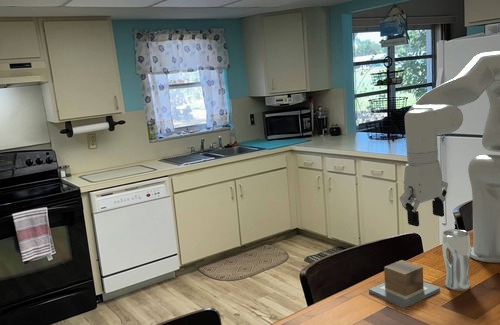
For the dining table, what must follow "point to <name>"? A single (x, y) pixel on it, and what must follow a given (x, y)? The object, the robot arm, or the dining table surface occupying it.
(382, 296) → the board
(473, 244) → the robot arm
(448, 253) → the metal cup
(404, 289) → the walnut block
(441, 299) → the dining table surface
